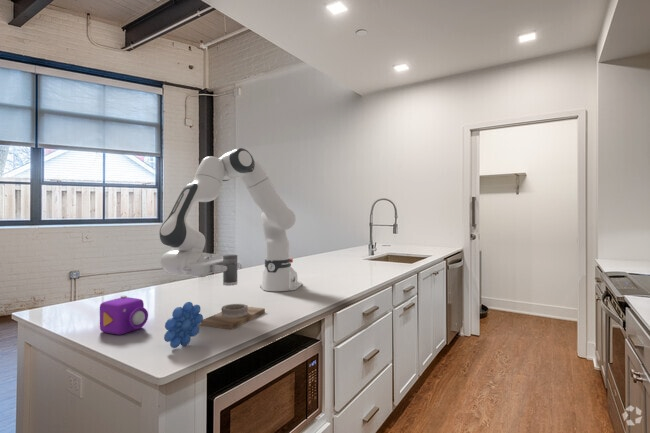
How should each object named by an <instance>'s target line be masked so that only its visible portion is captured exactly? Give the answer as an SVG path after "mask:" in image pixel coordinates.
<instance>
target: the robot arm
mask: <svg viewBox="0 0 650 433" xmlns="http://www.w3.org/2000/svg"><path fill="white" fill-rule="evenodd" d="M238 177H239V178H240V179H241V180H242V181H243V184H244V185H245V187H246V189H247V191H248V193H249V194H250V196H251V198H252V200H253V202H254V204H256V205H257V206H258V207H259V209H260V210H261V211H262V213H261V215H260V221H261V223H262V228H263V235H264V241H265V259H264V269H263V270H262V280H261V284H259V287H260V289H262V290H263V291H266V292H285V291H296V290H297V289H298V288H300V287H301V286H302V285H303V282H302V281H299V280H298V273H297V271H296V270H294V268H293V267H292V263H293V262H294V259H293V258H290V242H289V240H288V235H287V232H286V231H287V230H290V229H291V228H292V227H294V225H295V224H296V215H295V213H294V211H293V210H292V209H290V208H289V206H288V205H287V204H286V202H285V201H284V200H283V198H281V196H280V194H279V192H277V190H276V188H275V187H274V185H273V184H272V181H271V179H270V177H269V176H268V174H267V172H266V171H265V169H264V168H263V167H262V166H261V164H260V163H259V161H257V160H256V159H255V158H254V157H253V155H252V154H251V153H250V152H249V150H247V149H246V148H242V147H239V148H235V149H232V150H230V151H228V152H225V153H223V155H222V156H220V157H216V156H212V155H210V156H206V157H204V158H203V159H201V161H200V164H199V165H198V168H197V169H196V171H195V173H194V178H193V180H192V182H191V183H187V184H186V185H185V186H184V187H183V188H182V189H181V192H180V194H179V195H178V196H177V199H176V202H175V203H174V205H173V207H172V208H171V211H170V213H169V214H168V216H167V218H166V219H165V221H164V222H163V223H162V224H161V226H160V228H159V240H160V242H161V243H162V244H163V245H165V246H167V247H169V248H170V247H171V249H170V250H169V251H167V252H165V253H164V254H162V256H161V258H160V264H161V268H162V269H163V270H164V271H165V272H166V273H168V274H170V275H176V276H183V277H184V276H189V277H195V278H206V277H207V276H209V275H211V274H214V273H219V272H223V271H228V266H227V265H223V255H220V254H219V253H213V252H212V253H208V252H204V250H205V247H206V243H207V239H206V236H205V235H204V234H203V233H202V232H200V231H199V230H197V229H196V228H194V227H193V226H191V225H189V224H188V223H187V217H188V215H189V213H190V211H191V209H192V207H193V204H194V203H195V202H198V203H209V202H211V201H214V200H215V199H217V198H218V197H219V194H220V192H221V189H222V186H223V182H227V181H230V180H234V179H236V178H238ZM238 268H240V263H238V262H237V269H238Z"/></svg>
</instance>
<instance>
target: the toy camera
mask: <svg viewBox="0 0 650 433" xmlns="http://www.w3.org/2000/svg"><path fill="white" fill-rule="evenodd" d="M148 319H149V312H148V310H147V309H146V308H145V306H144V301H143V299H140V298H136V297H129V296H127V295H120V297H118V298H115V299H110V300H106V301H104V302H100V305H99V329H100V331H101V332H103V333H107V334H112V335H117V336H118V335H119V336H120V335H124V334H127V333H130V332H133V331H136V330H139V329H141V328H143V327H144V326H145V325H146V323H147V321H148Z"/></svg>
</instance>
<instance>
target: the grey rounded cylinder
mask: <svg viewBox="0 0 650 433" xmlns="http://www.w3.org/2000/svg"><path fill="white" fill-rule="evenodd" d="M237 263H238V255H237V254H224V255H223V265H227V266H228V271H222V284H223V286H227V287H229V286H236V285H238V268H237Z"/></svg>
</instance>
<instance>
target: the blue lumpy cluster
mask: <svg viewBox="0 0 650 433" xmlns="http://www.w3.org/2000/svg"><path fill="white" fill-rule="evenodd" d="M171 315H172V317H170V318H168V319H167V320H166V322H165V324H164V328H165V329H166V330H167V331H166V332H165V334H164V336H163V337H164V338H163V339H164V341H165V342H167V343H169V342H170V343H169V345H170V347H171V348H172V349H177V348H178V347H179V346H182V347H186V346H188V345H189V344H190V342H191V340H192V338H193V337H196V336H197V335H198V334H199V333H200V327H199V326H198V325H201V322H202V320H203V319H204V317H203V314H202V313H201V306H200V305H199V304H193V302H191V301H187V302H185V303H184V304H183V306H182V307H181V306H177V307H175V308H174V309H173V311H172V313H171ZM191 337H192V338H191Z"/></svg>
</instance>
